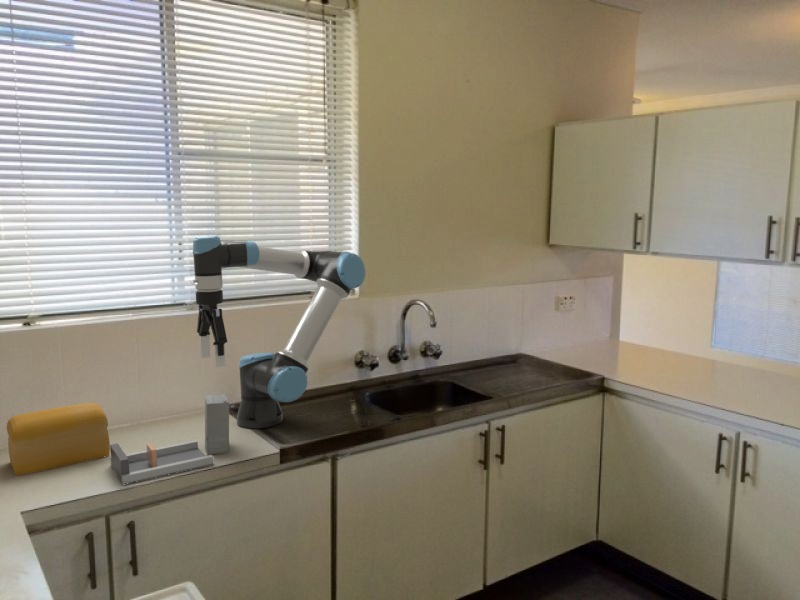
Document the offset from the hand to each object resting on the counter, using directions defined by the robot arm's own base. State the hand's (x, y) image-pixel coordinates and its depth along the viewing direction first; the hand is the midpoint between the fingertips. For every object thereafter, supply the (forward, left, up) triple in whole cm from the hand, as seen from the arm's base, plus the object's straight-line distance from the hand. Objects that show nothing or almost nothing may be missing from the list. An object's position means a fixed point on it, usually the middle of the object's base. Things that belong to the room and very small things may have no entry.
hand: (212, 361), depth 195 cm
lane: (+17, +3, -27) cm, 32 cm away
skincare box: (0, 0, -27) cm, 27 cm away
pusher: (+19, +3, -26) cm, 32 cm away
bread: (+40, -19, -27) cm, 52 cm away
